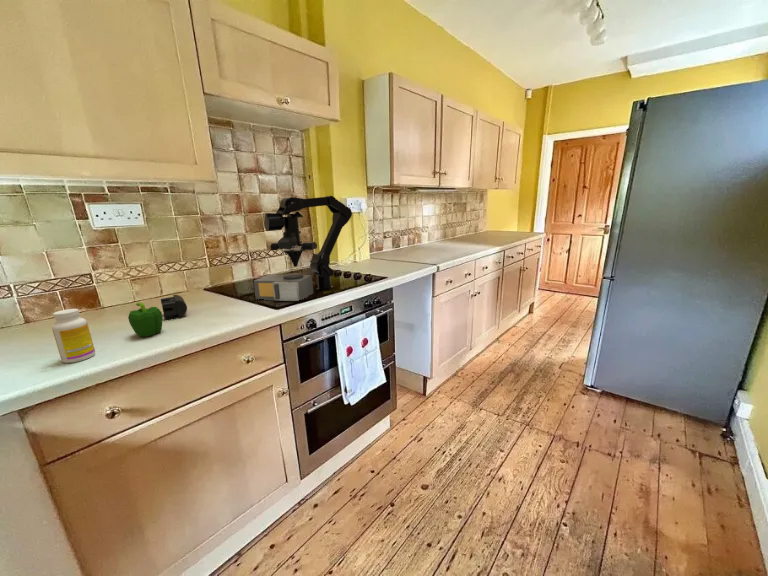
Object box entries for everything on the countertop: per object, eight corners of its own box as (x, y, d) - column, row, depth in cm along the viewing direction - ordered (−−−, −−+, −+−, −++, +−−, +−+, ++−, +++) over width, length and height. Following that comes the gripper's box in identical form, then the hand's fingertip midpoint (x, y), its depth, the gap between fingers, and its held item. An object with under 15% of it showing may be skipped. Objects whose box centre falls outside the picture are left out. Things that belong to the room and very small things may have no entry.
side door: (277, 298, 133) (275, 281, 131) (300, 299, 131) (298, 281, 129) (273, 300, 130) (271, 283, 129) (296, 301, 128) (294, 283, 126)
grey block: (272, 292, 147) (269, 272, 145) (313, 293, 143) (311, 272, 140) (256, 299, 136) (253, 278, 134) (300, 301, 131) (298, 278, 129)
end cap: (189, 316, 117) (185, 298, 115) (165, 321, 113) (161, 302, 112) (185, 310, 125) (182, 293, 123) (163, 314, 121) (160, 296, 119)
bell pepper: (168, 333, 101) (161, 302, 99) (135, 341, 96) (128, 309, 93) (162, 327, 107) (156, 297, 105) (131, 334, 102) (123, 303, 99)
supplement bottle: (102, 353, 89) (90, 307, 85) (74, 364, 82) (60, 316, 79) (84, 351, 90) (71, 306, 87) (55, 362, 84) (40, 314, 81)
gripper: (260, 231, 130) (265, 270, 134) (303, 230, 126) (307, 270, 129) (275, 229, 140) (279, 265, 144) (316, 228, 136) (319, 265, 140)
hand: (295, 266), depth 139 cm, fingers closed
